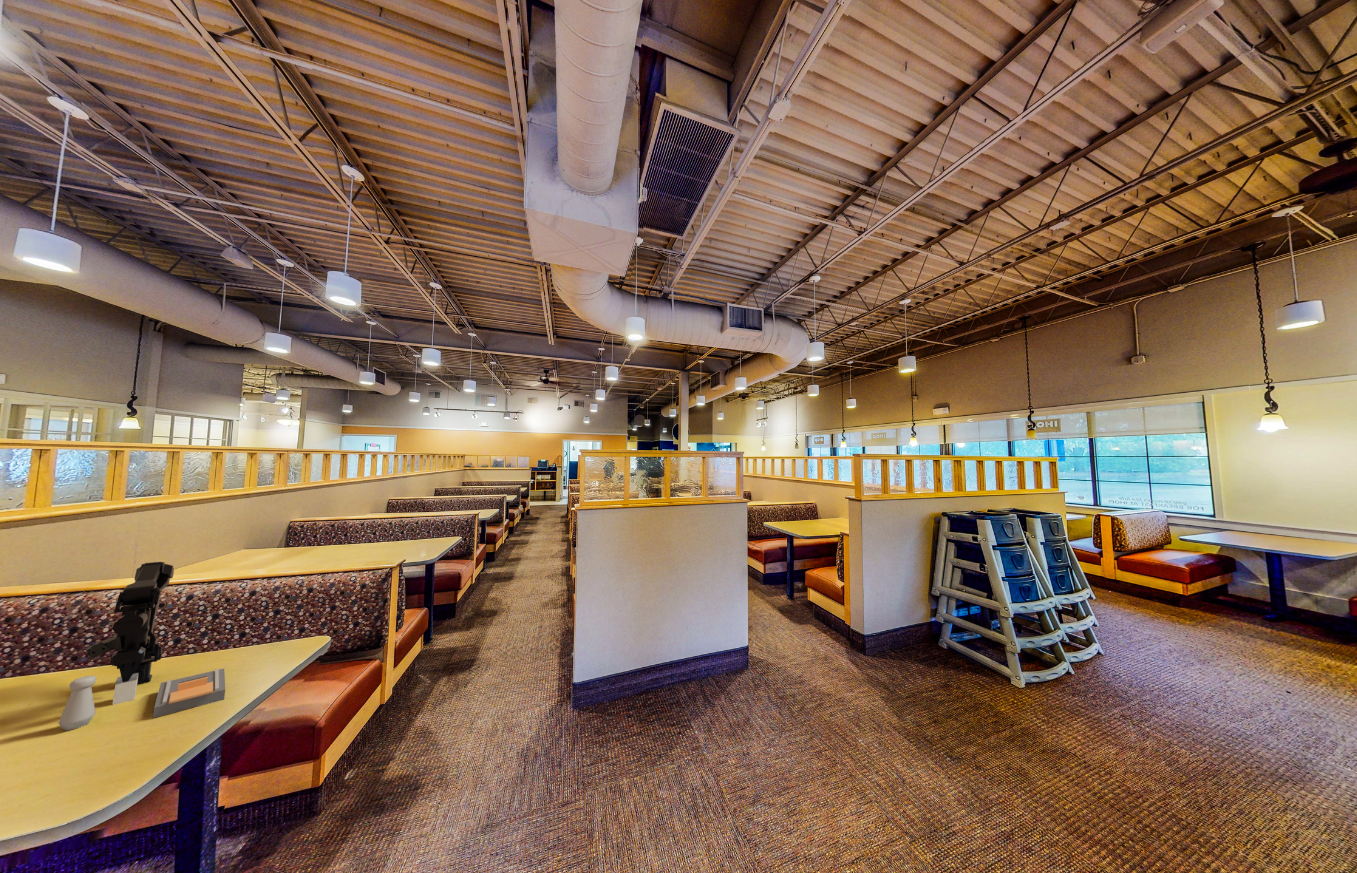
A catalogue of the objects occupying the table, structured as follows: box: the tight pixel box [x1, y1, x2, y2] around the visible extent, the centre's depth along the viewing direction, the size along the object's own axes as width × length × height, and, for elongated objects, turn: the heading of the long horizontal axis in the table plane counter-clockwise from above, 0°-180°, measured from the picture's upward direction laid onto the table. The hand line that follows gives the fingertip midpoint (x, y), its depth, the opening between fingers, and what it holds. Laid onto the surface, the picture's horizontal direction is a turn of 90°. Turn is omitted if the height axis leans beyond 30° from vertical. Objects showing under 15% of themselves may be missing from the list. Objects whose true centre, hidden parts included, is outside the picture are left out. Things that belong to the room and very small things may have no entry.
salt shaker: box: [58, 675, 97, 731], centre depth 116 cm, size 6×6×13 cm
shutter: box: [169, 677, 213, 704], centre depth 127 cm, size 9×9×3 cm
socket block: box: [152, 668, 226, 719], centre depth 132 cm, size 22×14×4 cm, turn 49°
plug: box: [112, 673, 139, 706], centre depth 129 cm, size 4×4×7 cm
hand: (127, 676), depth 130 cm, fingers open, 9 cm apart
